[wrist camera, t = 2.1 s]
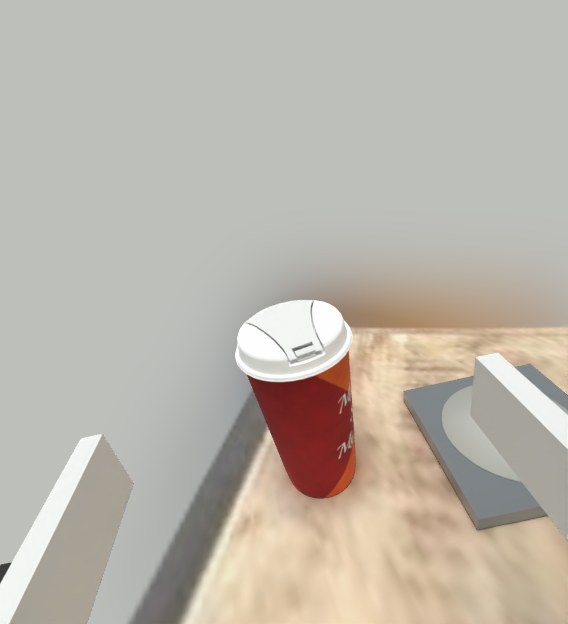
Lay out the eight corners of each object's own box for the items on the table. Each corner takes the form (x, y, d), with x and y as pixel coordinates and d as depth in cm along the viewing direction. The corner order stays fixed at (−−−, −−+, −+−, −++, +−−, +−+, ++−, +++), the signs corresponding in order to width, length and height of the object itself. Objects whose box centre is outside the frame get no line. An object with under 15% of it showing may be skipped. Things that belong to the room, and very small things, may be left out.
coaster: (528, 373, 32) (530, 362, 32) (662, 491, 22) (669, 478, 21) (403, 400, 33) (403, 390, 32) (477, 529, 22) (478, 518, 21)
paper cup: (387, 488, 26) (373, 334, 19) (291, 529, 24) (240, 381, 18) (343, 417, 32) (321, 285, 26) (266, 446, 31) (222, 316, 25)
